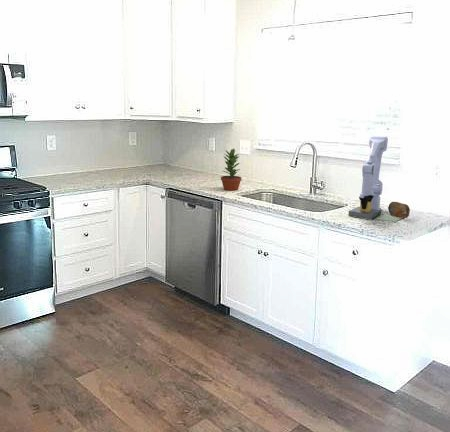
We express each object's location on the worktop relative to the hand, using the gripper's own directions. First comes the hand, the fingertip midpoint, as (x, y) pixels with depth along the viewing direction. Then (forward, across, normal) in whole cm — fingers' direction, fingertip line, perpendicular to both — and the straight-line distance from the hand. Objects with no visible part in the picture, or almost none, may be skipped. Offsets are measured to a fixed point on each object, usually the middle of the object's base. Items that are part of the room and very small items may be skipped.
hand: (365, 208), depth 296 cm
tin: (+4, +10, -16) cm, 19 cm away
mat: (+4, +1, -14) cm, 14 cm away
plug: (+4, 0, 0) cm, 4 cm away
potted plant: (+4, +11, +104) cm, 105 cm away
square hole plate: (+4, 0, 0) cm, 4 cm away
